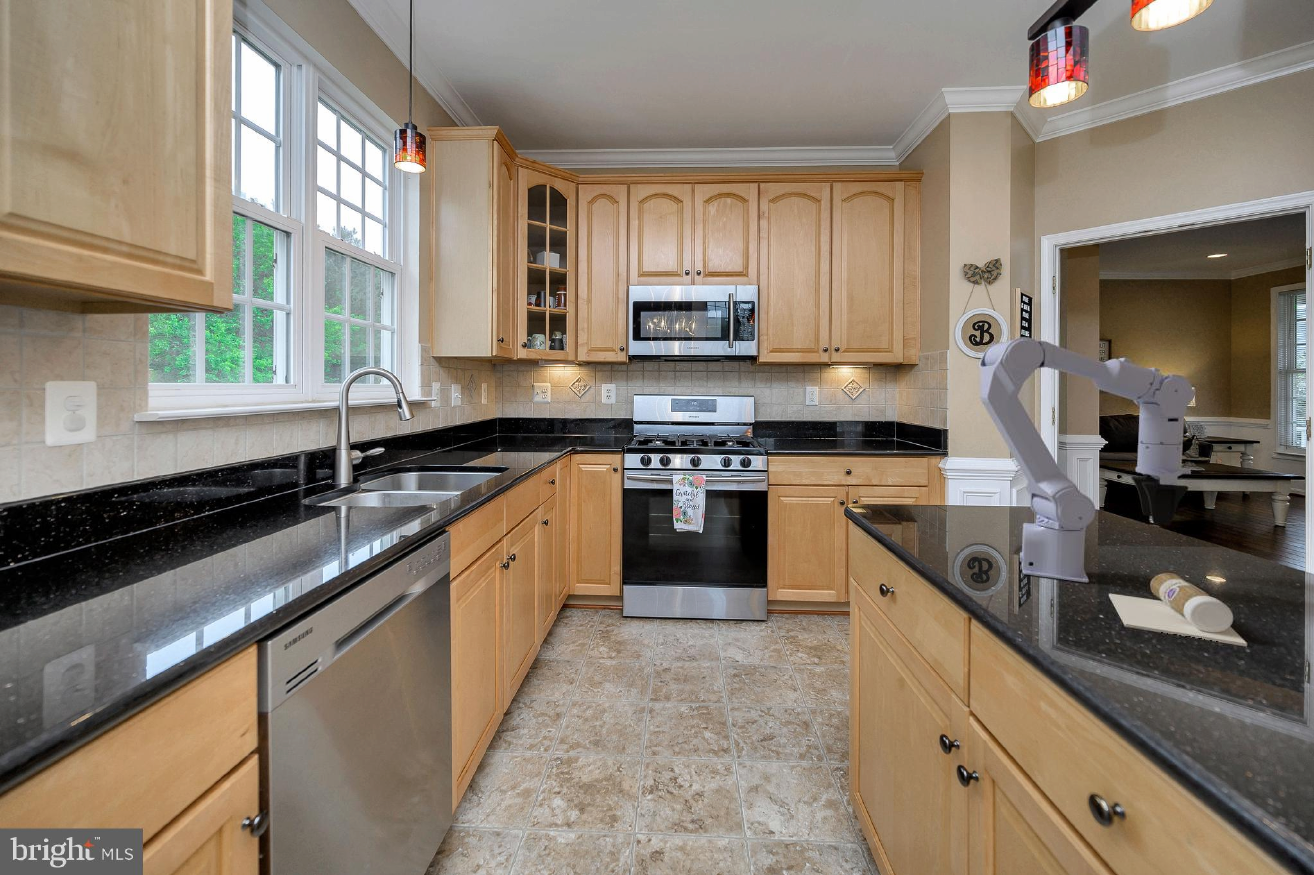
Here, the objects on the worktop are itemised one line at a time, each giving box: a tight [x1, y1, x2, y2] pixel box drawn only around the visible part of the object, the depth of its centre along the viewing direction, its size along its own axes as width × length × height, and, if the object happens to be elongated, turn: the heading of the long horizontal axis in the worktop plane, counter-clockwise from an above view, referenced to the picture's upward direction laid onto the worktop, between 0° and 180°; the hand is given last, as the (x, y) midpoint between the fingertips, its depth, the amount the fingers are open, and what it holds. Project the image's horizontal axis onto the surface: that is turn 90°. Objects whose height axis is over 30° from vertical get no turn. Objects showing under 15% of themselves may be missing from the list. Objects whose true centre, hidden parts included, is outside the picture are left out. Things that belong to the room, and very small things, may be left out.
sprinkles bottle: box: [1149, 572, 1234, 632], centre depth 79 cm, size 5×5×13 cm
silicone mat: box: [1108, 593, 1248, 647], centre depth 79 cm, size 12×14×1 cm
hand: (1156, 519), depth 96 cm, fingers open, 7 cm apart
